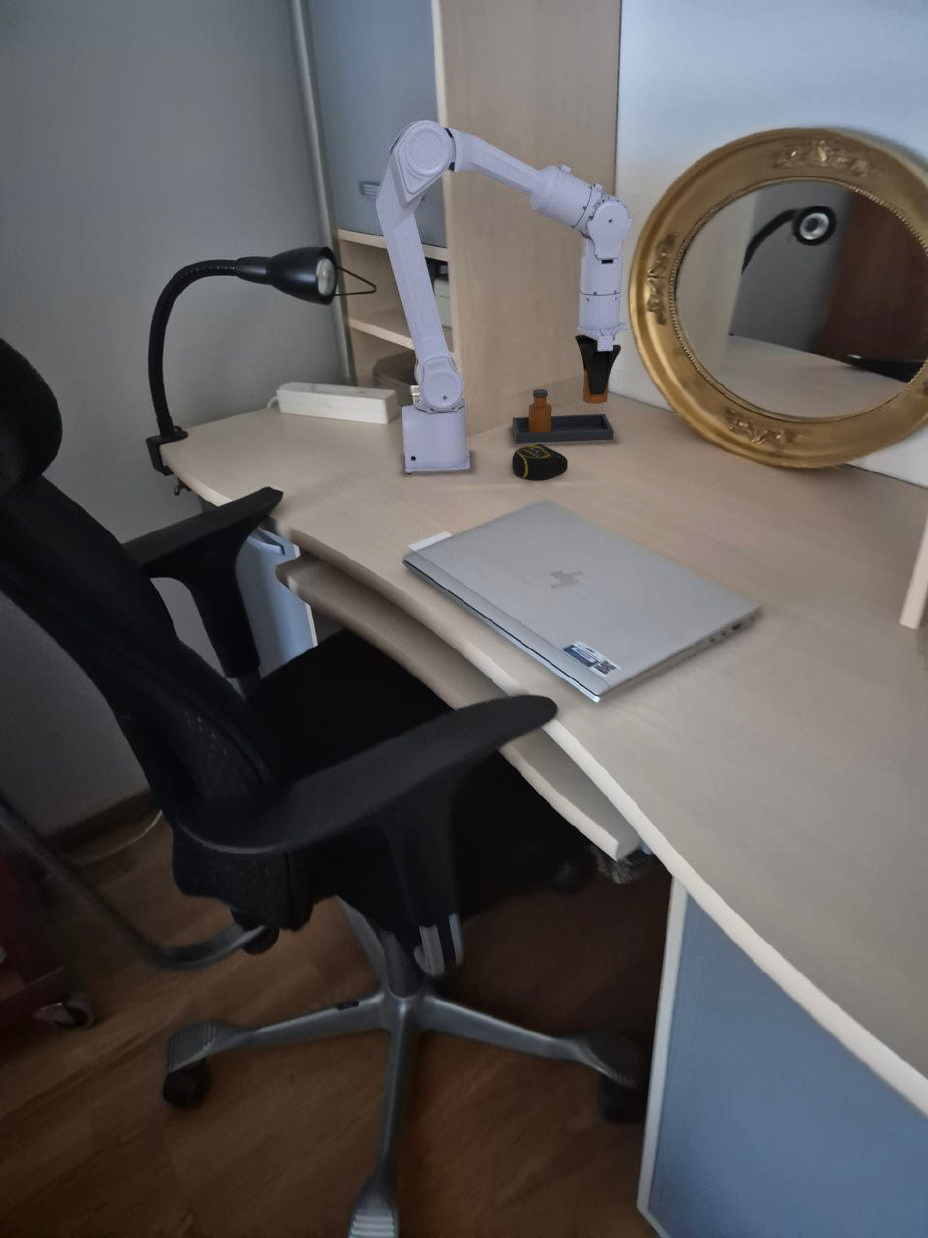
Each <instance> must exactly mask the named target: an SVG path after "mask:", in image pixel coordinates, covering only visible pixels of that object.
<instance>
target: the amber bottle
mask: <svg viewBox="0 0 928 1238" xmlns="http://www.w3.org/2000/svg"><path fill="white" fill-rule="evenodd" d="M582 391H583V392H582V402H584V403H586V404H591V405H592V404H593V405H594V404H595V405H596V404H597V405H598V404H604V403H606V402H607V401H608V395H609V392H608V391H609V383H608V384H607V387H606V391H605V393H604V394H590V391H589V386H588V377H587V368H585V369H583V385H582Z"/></svg>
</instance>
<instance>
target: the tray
mask: <svg viewBox="0 0 928 1238" xmlns="http://www.w3.org/2000/svg"><path fill="white" fill-rule="evenodd" d="M512 430H513V435H514V441H515V444H518V445H519V444H543V443H569V442H571V443H572V442H591V441H593V442H594V441H597V442H598V441H613V440H614V429H613V427H612V424H611V423H610V421H609V418H608V417H607V415H606V413H595V414H594V413H593V414H590V413H589V414H568V415H567V414H566V415H551V432H529V416H519V417H518V416H517V417H516V416H515V417H512Z"/></svg>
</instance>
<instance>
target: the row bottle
mask: <svg viewBox="0 0 928 1238" xmlns="http://www.w3.org/2000/svg"><path fill="white" fill-rule="evenodd" d="M548 392H549V391H548V390H547V389H545V388H536V389H533V391H532V397H533V403H530V404H529V405H528V417H529V432H551V416H552V405H551V404H550V403H548V402H547V401H548V400H547V399H548V398H547V397H548V394H549V393H548Z"/></svg>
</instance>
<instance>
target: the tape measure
mask: <svg viewBox="0 0 928 1238" xmlns="http://www.w3.org/2000/svg"><path fill="white" fill-rule="evenodd" d="M568 461H569V460H568V458H567V457H566V456H565V455H563V454H562V453H560V452H558V451H556V450H554V449H552V448H551V447H548V446H546V445H544V444H543V443H536V444H534V445H525V446H524V445H523V446H521V447H519V448H518V449H517V448H516V450H515V451H514V453H513V456H512V461H511V465H512V470H513V472H514V474H515V475H516V476H518V477H520V478H522V479H526V480H530V481H545V480H550V479H552V478H554V477H556V476H558V475H562V474H563V473H565V472H566V471H567V470H568V467H569V466H568V465H569V462H568Z"/></svg>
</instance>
